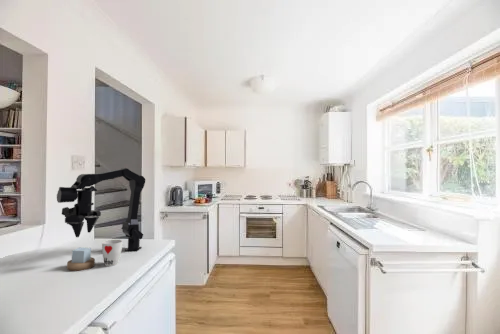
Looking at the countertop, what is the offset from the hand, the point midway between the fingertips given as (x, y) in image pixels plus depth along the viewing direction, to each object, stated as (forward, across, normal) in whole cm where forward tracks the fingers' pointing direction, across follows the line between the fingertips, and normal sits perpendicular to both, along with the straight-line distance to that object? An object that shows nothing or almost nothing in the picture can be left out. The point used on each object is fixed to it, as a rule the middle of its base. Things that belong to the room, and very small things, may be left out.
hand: (83, 234), depth 122 cm
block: (+9, +8, +4) cm, 13 cm away
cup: (+12, +5, +15) cm, 20 cm away
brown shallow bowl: (+12, +8, +4) cm, 15 cm away
